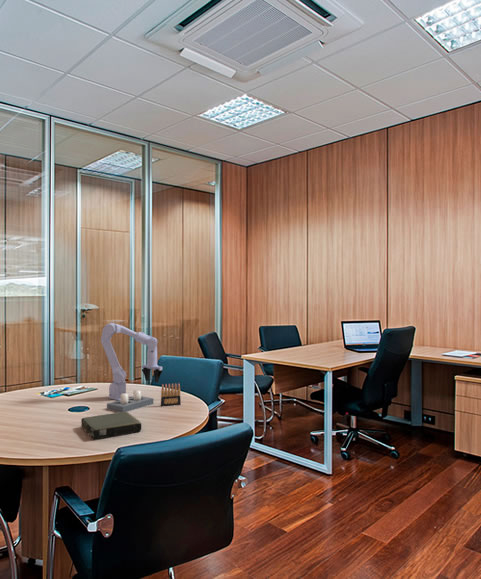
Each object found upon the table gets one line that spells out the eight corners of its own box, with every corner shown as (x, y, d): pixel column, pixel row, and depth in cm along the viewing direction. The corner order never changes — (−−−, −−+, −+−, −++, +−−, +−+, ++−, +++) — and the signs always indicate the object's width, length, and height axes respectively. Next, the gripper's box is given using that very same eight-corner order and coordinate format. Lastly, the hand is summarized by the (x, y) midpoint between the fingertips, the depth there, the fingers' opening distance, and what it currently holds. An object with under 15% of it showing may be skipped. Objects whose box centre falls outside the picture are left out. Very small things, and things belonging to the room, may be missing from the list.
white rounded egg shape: (131, 404, 238) (131, 391, 238) (137, 402, 241) (137, 389, 241) (137, 405, 236) (137, 392, 236) (142, 403, 239) (142, 390, 239)
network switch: (75, 429, 196) (75, 418, 196) (124, 420, 211) (124, 409, 211) (95, 443, 178) (96, 431, 178) (147, 431, 193) (147, 420, 193)
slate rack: (106, 409, 229) (107, 394, 229) (137, 400, 247) (138, 387, 247) (122, 412, 222) (122, 398, 222) (153, 403, 241) (153, 390, 241)
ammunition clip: (161, 406, 235) (161, 384, 235) (160, 405, 237) (160, 383, 237) (180, 405, 239) (180, 383, 239) (180, 404, 240) (180, 382, 240)
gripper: (166, 358, 255) (165, 381, 254) (148, 356, 263) (147, 379, 262) (157, 359, 249) (157, 383, 249) (139, 357, 257) (139, 380, 256)
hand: (152, 381), depth 255 cm, fingers open, 7 cm apart
